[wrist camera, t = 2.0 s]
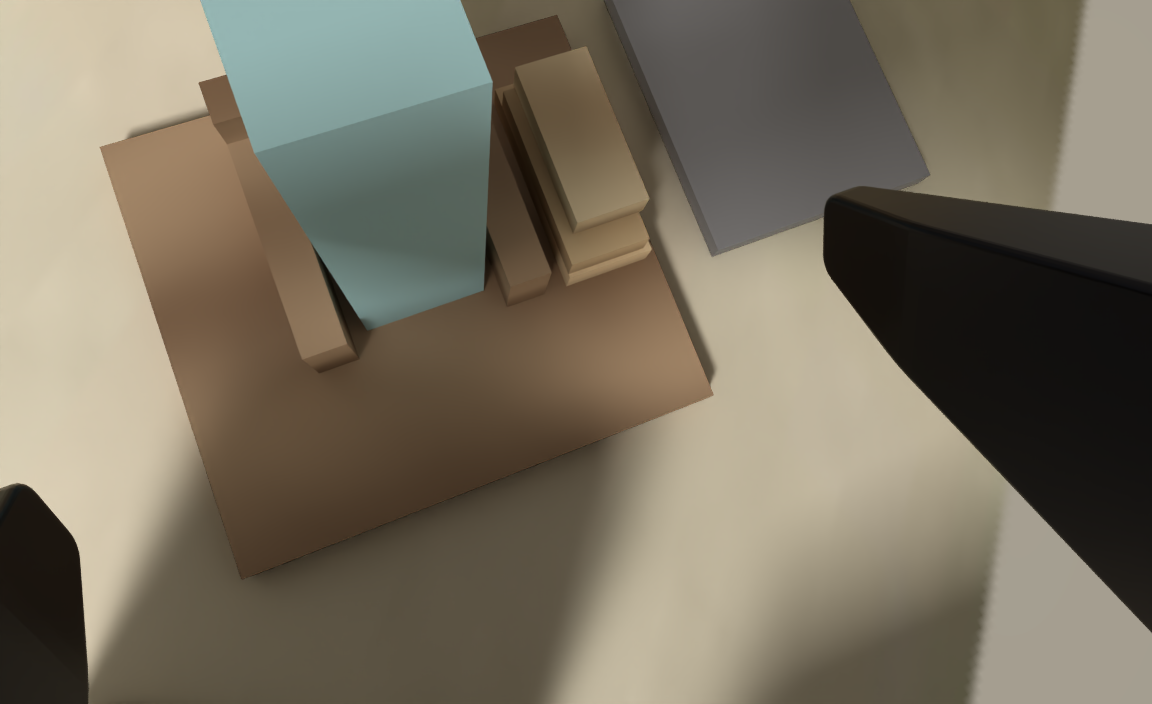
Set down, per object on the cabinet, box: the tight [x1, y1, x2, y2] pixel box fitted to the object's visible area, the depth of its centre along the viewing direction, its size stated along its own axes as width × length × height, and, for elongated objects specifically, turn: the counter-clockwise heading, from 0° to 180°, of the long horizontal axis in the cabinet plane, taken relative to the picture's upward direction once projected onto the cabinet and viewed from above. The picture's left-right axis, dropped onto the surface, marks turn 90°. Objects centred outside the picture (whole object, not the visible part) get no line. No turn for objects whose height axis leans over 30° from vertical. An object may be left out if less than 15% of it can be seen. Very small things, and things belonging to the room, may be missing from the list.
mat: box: [604, 0, 930, 257], centre depth 23 cm, size 8×7×1 cm
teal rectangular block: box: [200, 0, 493, 331], centre depth 15 cm, size 4×3×10 cm
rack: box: [100, 15, 713, 579], centre depth 19 cm, size 11×12×4 cm
